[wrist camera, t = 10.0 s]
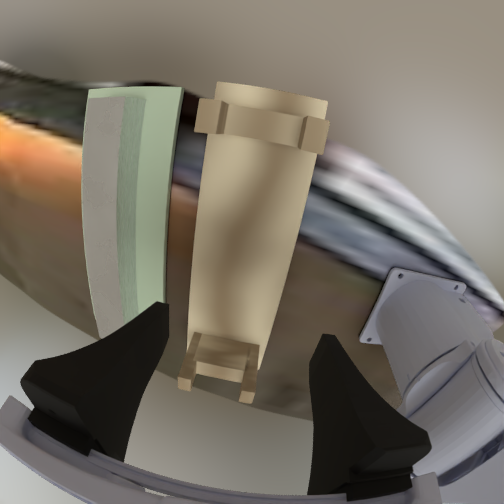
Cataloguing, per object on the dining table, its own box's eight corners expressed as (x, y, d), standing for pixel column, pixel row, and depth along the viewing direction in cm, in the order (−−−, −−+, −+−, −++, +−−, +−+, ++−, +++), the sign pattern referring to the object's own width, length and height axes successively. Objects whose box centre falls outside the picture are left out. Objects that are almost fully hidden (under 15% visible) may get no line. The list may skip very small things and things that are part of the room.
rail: (111, 100, 16) (88, 98, 13) (146, 99, 16) (125, 96, 13) (113, 318, 24) (99, 337, 22) (139, 326, 24) (127, 347, 22)
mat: (184, 88, 16) (181, 87, 15) (165, 336, 25) (164, 340, 25) (93, 89, 16) (89, 89, 15) (98, 316, 25) (95, 319, 25)
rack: (324, 103, 16) (349, 90, 10) (259, 360, 26) (255, 414, 20) (220, 84, 16) (193, 63, 10) (189, 346, 26) (171, 397, 20)
